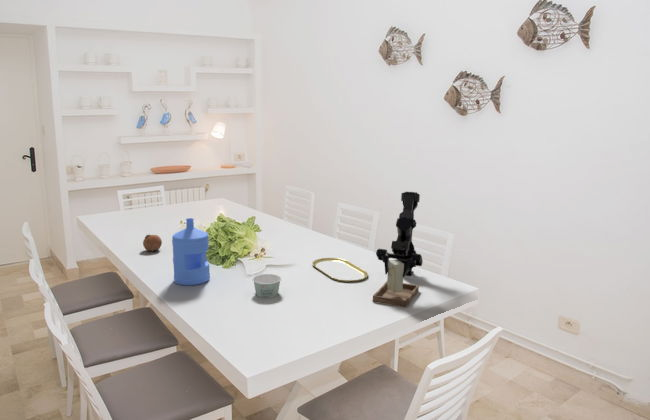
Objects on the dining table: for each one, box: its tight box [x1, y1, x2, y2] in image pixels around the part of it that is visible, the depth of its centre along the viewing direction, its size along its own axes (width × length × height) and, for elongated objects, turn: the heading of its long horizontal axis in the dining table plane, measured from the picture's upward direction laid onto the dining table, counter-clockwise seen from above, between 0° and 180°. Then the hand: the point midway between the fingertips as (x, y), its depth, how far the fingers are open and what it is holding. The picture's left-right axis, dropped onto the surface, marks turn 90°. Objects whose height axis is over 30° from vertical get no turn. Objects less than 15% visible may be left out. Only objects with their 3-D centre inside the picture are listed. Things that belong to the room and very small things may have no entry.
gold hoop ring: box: [312, 257, 369, 283], centre depth 242 cm, size 19×35×2 cm, turn 27°
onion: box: [142, 234, 163, 252], centre depth 268 cm, size 10×9×10 cm
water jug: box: [171, 217, 211, 286], centre depth 223 cm, size 16×16×28 cm
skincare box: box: [386, 259, 404, 293], centre depth 207 cm, size 6×4×12 cm
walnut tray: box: [372, 281, 420, 309], centre depth 211 cm, size 20×14×2 cm
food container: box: [252, 273, 282, 298], centre depth 211 cm, size 12×12×6 cm
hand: (394, 275), depth 205 cm, fingers closed on skincare box, 7 cm apart
